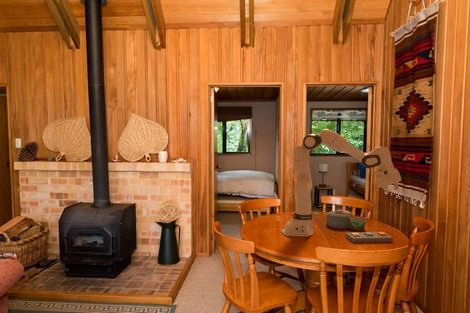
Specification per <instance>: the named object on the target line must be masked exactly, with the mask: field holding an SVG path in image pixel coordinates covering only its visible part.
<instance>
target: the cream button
mask: <svg viewBox="0 0 470 313" xmlns="http://www.w3.org/2000/svg"><path fill="white" fill-rule="evenodd" d="M350 233H351V235H352V236H360V234H358V233H356V232H350Z"/></svg>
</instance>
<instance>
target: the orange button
mask: <svg viewBox="0 0 470 313" xmlns="http://www.w3.org/2000/svg"><path fill="white" fill-rule="evenodd" d="M376 232H377V234H378V235H380V236H386V234H387V233H386V232H384V231H376Z"/></svg>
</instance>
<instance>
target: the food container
mask: <svg viewBox="0 0 470 313" xmlns="http://www.w3.org/2000/svg"><path fill="white" fill-rule="evenodd" d="M349 219H350V224H351V227H350V230H352V231H354V232H365V230H366V229H365V228H366V221H367V220H368V219H367V217H366V216H365V217H362V216H361V217H360V216H353V217H351V216H349Z"/></svg>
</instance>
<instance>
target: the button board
mask: <svg viewBox="0 0 470 313" xmlns="http://www.w3.org/2000/svg"><path fill="white" fill-rule="evenodd" d="M364 232H365V231H355V233H358V234H360V236H352V235H351V233H352V232H345V238H347V240H349V241H350V242H352V243H353V244H364V243H366V244H367V243H368V244H369V243H393V242H394V241H393V240H394V238H393V236H391V235H389V234H387V233H386V236H380V235H378V234H377V232H378V231H370V233H372V234H373V236H366V235H364Z"/></svg>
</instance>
